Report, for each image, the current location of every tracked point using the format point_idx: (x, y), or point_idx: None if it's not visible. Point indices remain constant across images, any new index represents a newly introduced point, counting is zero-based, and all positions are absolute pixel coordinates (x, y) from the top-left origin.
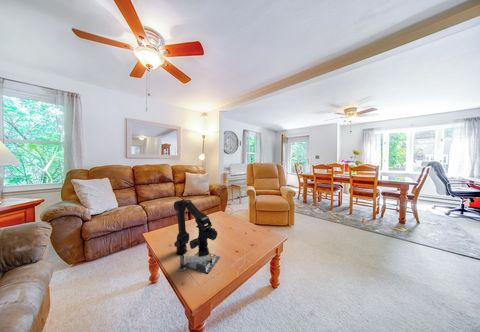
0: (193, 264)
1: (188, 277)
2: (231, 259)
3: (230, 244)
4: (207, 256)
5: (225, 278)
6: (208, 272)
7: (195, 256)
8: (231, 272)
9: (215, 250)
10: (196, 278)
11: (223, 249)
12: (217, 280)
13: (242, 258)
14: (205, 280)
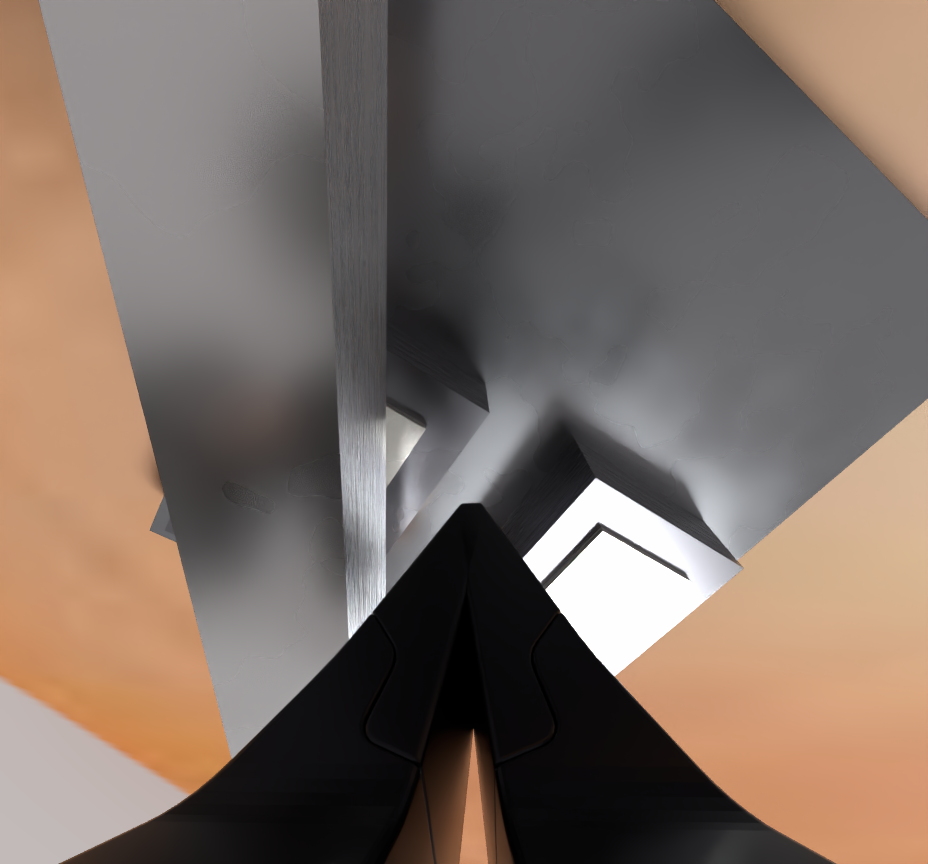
0: (443, 182)
1: (26, 57)
2: (475, 783)
3: (831, 814)
4: (239, 749)
5: (105, 694)
6: (153, 527)
7: (214, 273)
8: (220, 755)
9: (810, 642)
10: (30, 283)
11: (761, 737)
12: (50, 613)
13: (461, 860)
14: (13, 455)
